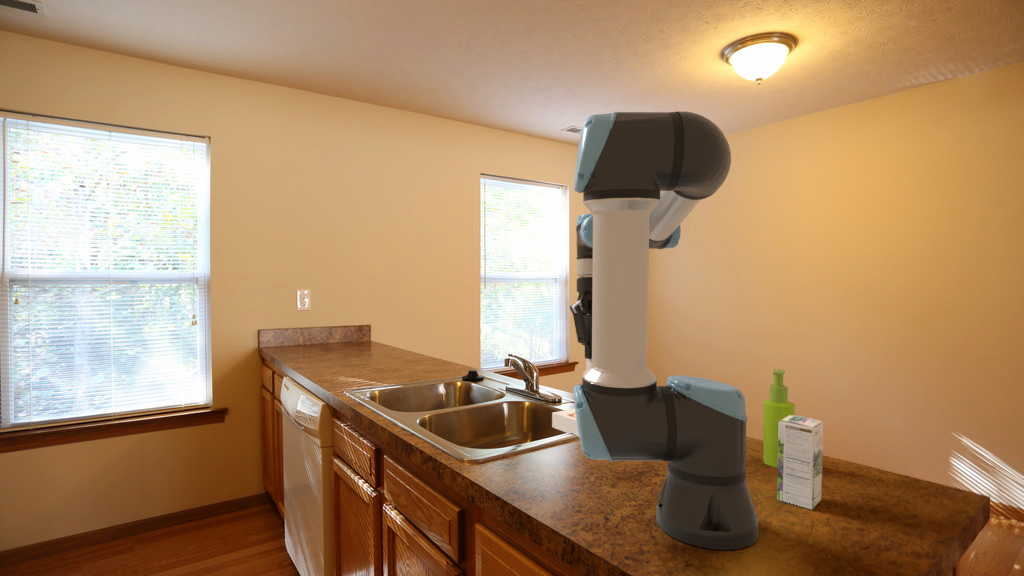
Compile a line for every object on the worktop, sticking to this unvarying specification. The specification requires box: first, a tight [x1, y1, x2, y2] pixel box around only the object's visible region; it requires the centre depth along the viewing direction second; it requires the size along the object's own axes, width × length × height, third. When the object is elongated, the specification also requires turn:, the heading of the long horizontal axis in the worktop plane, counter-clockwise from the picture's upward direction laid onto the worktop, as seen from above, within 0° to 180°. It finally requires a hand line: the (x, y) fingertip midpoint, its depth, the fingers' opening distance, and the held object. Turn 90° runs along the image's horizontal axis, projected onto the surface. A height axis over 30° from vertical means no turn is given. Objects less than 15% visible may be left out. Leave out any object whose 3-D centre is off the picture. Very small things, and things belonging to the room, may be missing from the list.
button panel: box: [551, 407, 579, 438], centre depth 137 cm, size 26×14×4 cm, turn 125°
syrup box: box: [776, 415, 824, 510], centre depth 89 cm, size 6×6×14 cm
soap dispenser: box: [762, 368, 795, 469], centre depth 108 cm, size 6×7×20 cm
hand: (592, 371), depth 124 cm, fingers closed
